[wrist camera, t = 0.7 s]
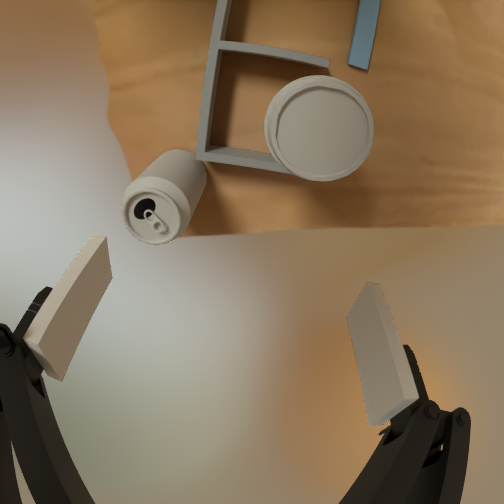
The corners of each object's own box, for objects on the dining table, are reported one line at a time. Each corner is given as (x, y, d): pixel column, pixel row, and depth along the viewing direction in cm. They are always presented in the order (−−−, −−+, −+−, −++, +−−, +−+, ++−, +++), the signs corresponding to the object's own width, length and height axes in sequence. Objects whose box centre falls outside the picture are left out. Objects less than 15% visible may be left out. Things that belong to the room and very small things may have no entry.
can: (181, 135, 32) (146, 167, 23) (220, 177, 36) (203, 224, 26) (143, 172, 35) (102, 215, 26) (180, 209, 39) (153, 263, 29)
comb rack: (233, -45, 18) (230, -56, 15) (340, -26, 19) (348, -35, 16) (201, 151, 34) (195, 159, 31) (299, 166, 34) (303, 176, 32)
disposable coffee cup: (275, 157, 34) (281, 197, 24) (253, 84, 29) (249, 89, 19) (348, 141, 32) (384, 175, 22) (333, 68, 27) (368, 68, 17)
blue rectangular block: (361, -10, 20) (362, -11, 19) (379, -3, 20) (381, -4, 19) (347, 63, 26) (348, 63, 26) (365, 70, 26) (367, 70, 26)
